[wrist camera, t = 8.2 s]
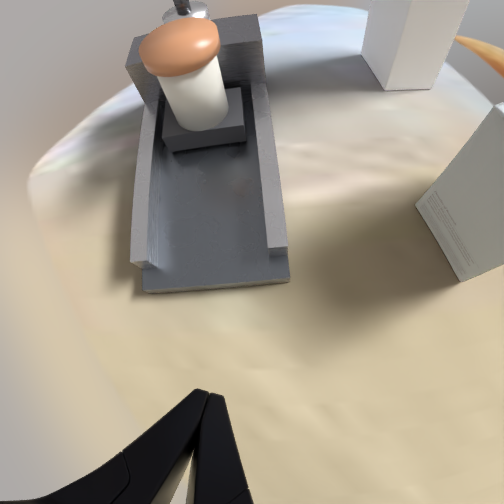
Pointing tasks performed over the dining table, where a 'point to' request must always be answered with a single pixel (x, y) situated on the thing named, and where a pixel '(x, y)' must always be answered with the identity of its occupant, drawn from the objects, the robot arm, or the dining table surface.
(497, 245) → the supplement box
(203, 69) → the knob
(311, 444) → the dining table surface
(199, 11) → the potentiometer
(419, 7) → the milk
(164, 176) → the mount
